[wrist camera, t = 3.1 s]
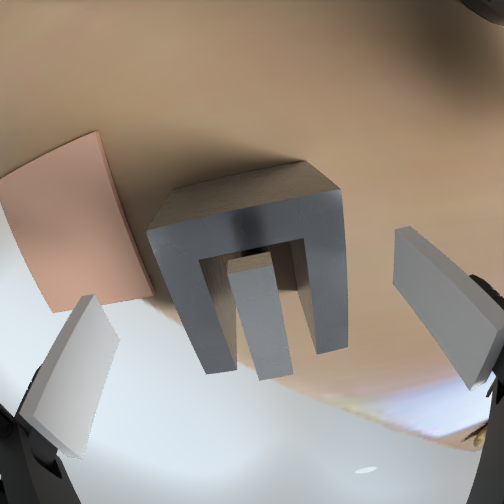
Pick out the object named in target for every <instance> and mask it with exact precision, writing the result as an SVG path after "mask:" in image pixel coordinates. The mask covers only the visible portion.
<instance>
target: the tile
mask: <svg viewBox="0 0 504 504" xmlns="http://www.w3.org/2000/svg"><path fill="white" fill-rule="evenodd" d="M0 202H1V205H2V207H3V210H4V213H5V216H6V218H7V221H8V223H9V226H10V228H11V230H12V233H13V235H14V238H15V240H16V242H17V245H18V247H19V249H20V251H21V253H22V256H23V257H24V260H25V262H26V264H27V266H28V268H29V270H30V272H31V274H32V276H33V278H34V280H35V282H36V284H37V286H38V288H39V289H40V291H41V293H42V295H43V297H44V298H45V300H46V302H47V304H48V305H49V307H50V309H51V311H52V312H53V313H55V312H62V311H68V310H73V309H74V308H75V306H76V305H77V303H78V301H79V300H80V298H81V297H82V296H85V295H90V294H95V295H96V297H97V299H98V301H99V303H100V305H105V304H111V303H117V302H123V301H128V300H134V299H140V298H145V297H151V296H154V293H155V290H154V288H153V286H152V283H151V281H150V279H149V276H148V274H147V272H146V269H145V267H144V264H143V262H142V259H141V257H140V254H139V252H138V249H137V247H136V244H135V241H134V239H133V236H132V234H131V231H130V228H129V225H128V223H127V220H126V217H125V214H124V212H123V209H122V206H121V203H120V200H119V197H118V194H117V191H116V188H115V185H114V182H113V179H112V175H111V172H110V169H109V166H108V162H107V159H106V156H105V152H104V149H103V145H102V142H101V138H100V134H99V131H95V132H92V133H90V134H88V135H85V136H83V137H81V138H78V139H76V140H74V141H72V142H70V143H67V144H65V145H63V146H61V147H59V148H57V149H55V150H53V151H51V152H49V153H47V154H45V155H43V156H41V157H39V158H37V159H35V160H33V161H31V162H29V163H28V164H26V165H24V166H22V167H20V168H19V169H17V170H15V171H13V172H12V173H10V174H8V175H6V176H5V177H3V178H1V179H0Z"/></svg>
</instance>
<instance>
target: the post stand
mask: <svg viewBox="0 0 504 504" xmlns="http://www.w3.org/2000/svg"><path fill="white" fill-rule="evenodd" d="M227 275H228V279H229V282H230V286H231V289H232V292H233V296H234V299H235V303H236V306H237V309H238V313H239V316H240V319H241V323H242V326H243V329H244V333H245V336H246V339H247V342H248V346H249V349H250V352H251V355H252V359H253V362H254V365H255V368H256V371H257V375H258V378H259V380H265V379H271V378H276V377H282V376H287V375H292V374H293V369H292V364H291V358H290V353H289V347H288V342H287V336H286V331H285V325H284V320H283V315H282V309H281V304H280V299H279V293H278V288H277V283H276V278H275V273H274V267H273V263H272V259H271V254H270V252H268V248H267V246H262V247H258V248H253V249H248V250H243V251H241V258H236V259H231V260H228V265H227Z"/></svg>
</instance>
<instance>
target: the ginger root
mask: <svg viewBox="0 0 504 504" xmlns="http://www.w3.org/2000/svg"><path fill="white" fill-rule="evenodd" d="M487 426H488V425H487ZM487 426H486V427H484V428H483V429H482V430H481V431H480V432H479V433H478V435H477V436H476V438H475V439H474V443H473V444H474V446H475V447H478V448H479V447H480V446H482V445H483V444H484V441H485V436H486V431H487Z"/></svg>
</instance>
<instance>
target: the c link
mask: <svg viewBox="0 0 504 504" xmlns="http://www.w3.org/2000/svg"><path fill="white" fill-rule="evenodd" d="M146 234H147V237H148V240H149V242H150V245H151V248H152V250H153V253H154V256H155V258H156V261H157V263H158V266H159V269H160V271H161V274H162V276H163V279H164V281H165V284H166V286H167V288H168V291H169V293H170V296H171V298H172V300H173V303H174V305H175V308H176V310H177V312H178V315H179V317H180V319H181V321H182V324H183V326H184V328H185V330H186V332H187V335H188V337H189V339H190V341H191V343H192V346H193V348H194V350H195V352H196V354H197V356H198V358H199V360H200V362H201V365H202V366H203V369H204V371H205V373H206V374H213V373H220V372H227V371H234V370H237V347H236V303H235V300H234V296H233V293H232V290H231V286H230V283H229V279H228V276H227V272H226V269H225V265H224V262H223V258H222V255H224V254H229V253H234V252H238V251H243V250H248V249H253V248H258V247H262V246H267V245H272V244H277V243H282V242H287V241H290V246H291V252H292V259H293V265H294V272H295V278H296V285H297V291H298V295H299V298H300V301H301V304H302V307H303V311H304V314H305V317H306V320H307V323H308V327H309V330H310V333H311V337H312V340H313V343H314V347H315V350H316V353H317V354H322V353H326V352H330V351H334V350H338V349H342V348H346V347H348V289H347V263H346V244H345V229H344V217H343V205H342V195H341V189H340V188H339V187H338V186H337V185H335V184H334V183H333V182H332V181H331V180H329V179H328V178H327V177H326V176H325V175H323V174H322V173H321V172H320V171H318V170H317V169H316V168H315V167H313V166H312V165H311V164H310V163H308V162H307V161H301V162H296V163H290V164H285V165H279V166H274V167H269V168H264V169H259V170H254V171H249V172H244V173H240V174H235V175H231V176H226V177H222V178H217V179H213V180H209V181H205V182H200V183H196V184H192V185H188V186H184V187H180V188H176V189H173V190H172V192H171V193H170V195H169V196H168V197H167V199H166V200H165V202H164V203H163V205H162V206H161V208H160V209H159V211H158V212H157V214H156V215H155V217H154V218H153V220H152V221H151V223H150V225H149V226H148V228H147V229H146Z"/></svg>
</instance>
